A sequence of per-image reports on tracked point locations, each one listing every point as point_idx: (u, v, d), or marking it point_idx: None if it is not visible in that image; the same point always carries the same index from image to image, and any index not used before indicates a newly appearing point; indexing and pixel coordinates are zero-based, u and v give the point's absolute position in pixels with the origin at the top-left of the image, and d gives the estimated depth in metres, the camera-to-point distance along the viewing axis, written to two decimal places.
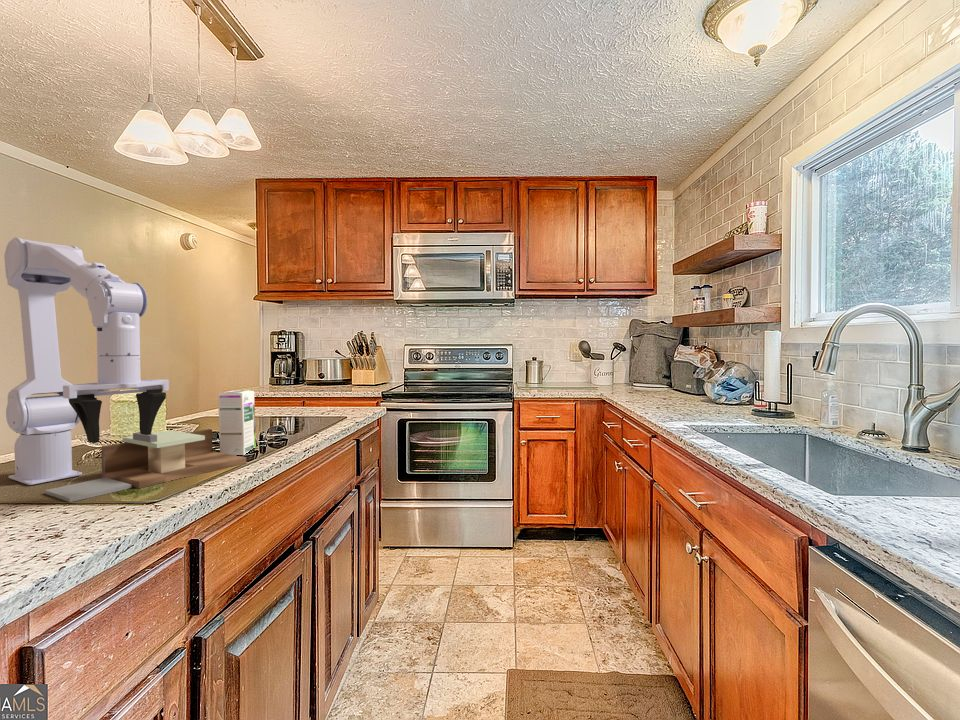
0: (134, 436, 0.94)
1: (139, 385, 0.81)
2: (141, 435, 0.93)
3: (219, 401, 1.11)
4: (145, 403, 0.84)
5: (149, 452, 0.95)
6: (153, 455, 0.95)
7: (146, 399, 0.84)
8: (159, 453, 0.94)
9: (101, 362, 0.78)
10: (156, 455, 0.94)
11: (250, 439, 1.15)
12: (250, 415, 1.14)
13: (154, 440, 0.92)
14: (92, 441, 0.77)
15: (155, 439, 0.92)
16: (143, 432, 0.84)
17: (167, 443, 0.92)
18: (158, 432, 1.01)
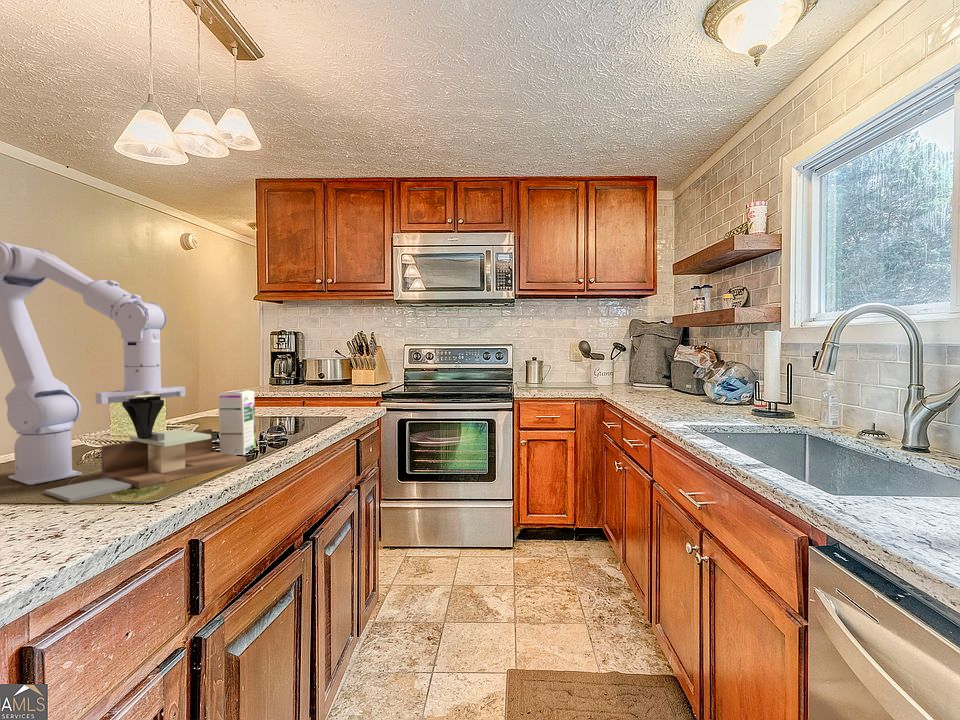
0: None
1: (160, 392, 0.93)
2: None
3: (219, 401, 1.11)
4: None
5: (149, 452, 0.95)
6: (153, 455, 0.95)
7: None
8: (159, 453, 0.94)
9: (128, 372, 0.90)
10: (156, 455, 0.94)
11: (250, 439, 1.15)
12: (250, 415, 1.14)
13: (161, 439, 0.93)
14: (142, 437, 0.92)
15: (162, 438, 0.93)
16: None
17: (174, 442, 0.93)
18: (165, 431, 1.02)
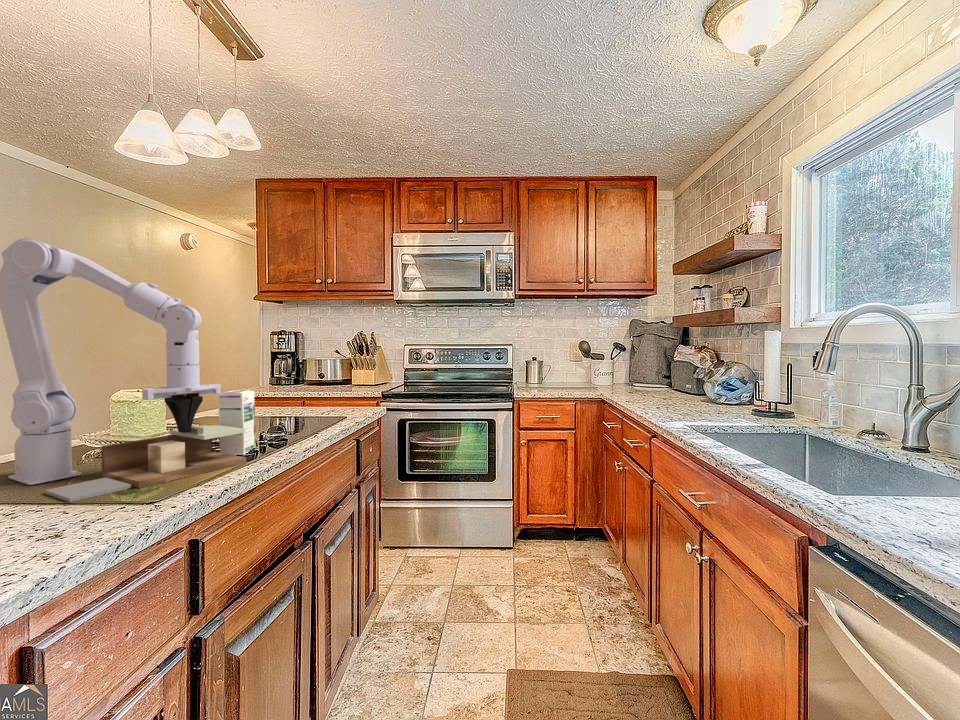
0: None
1: (199, 389, 0.99)
2: None
3: (219, 401, 1.11)
4: None
5: (149, 452, 0.95)
6: (153, 455, 0.95)
7: None
8: (159, 453, 0.94)
9: (170, 370, 0.96)
10: (156, 455, 0.94)
11: (250, 439, 1.15)
12: (250, 415, 1.14)
13: (201, 432, 1.00)
14: (182, 431, 0.99)
15: (201, 431, 1.00)
16: None
17: (213, 435, 0.99)
18: (200, 426, 1.09)
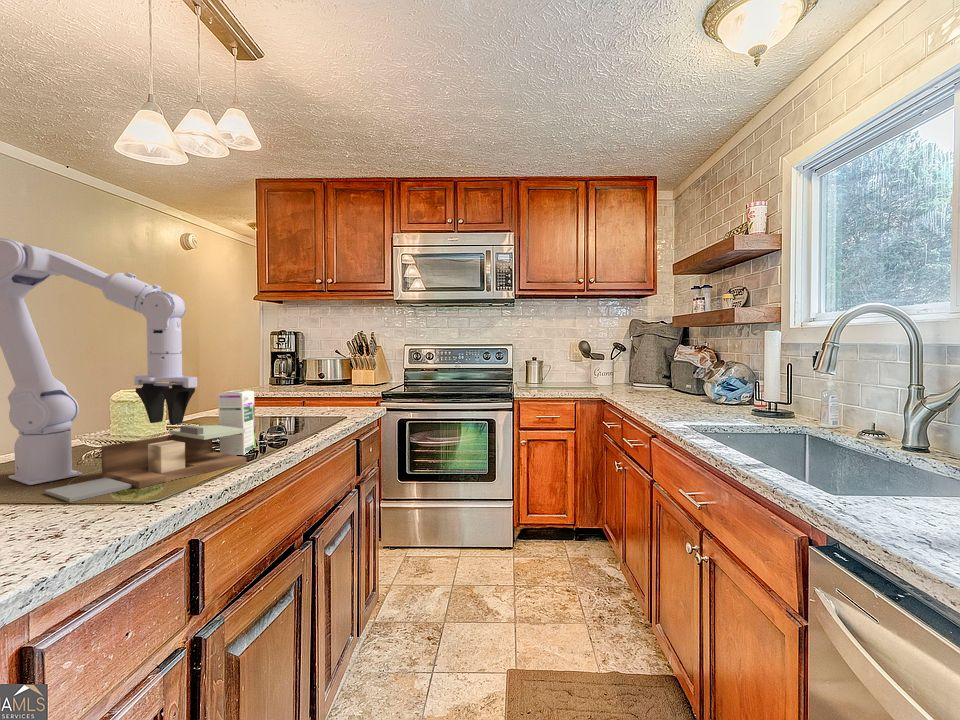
0: (181, 429, 1.01)
1: (158, 380, 0.93)
2: (188, 428, 1.00)
3: (219, 401, 1.11)
4: None
5: (149, 452, 0.95)
6: (153, 455, 0.95)
7: None
8: (159, 453, 0.94)
9: None
10: (156, 455, 0.94)
11: (250, 439, 1.15)
12: (250, 415, 1.14)
13: (201, 432, 1.00)
14: None
15: (201, 431, 1.00)
16: None
17: (213, 435, 0.99)
18: (200, 426, 1.09)
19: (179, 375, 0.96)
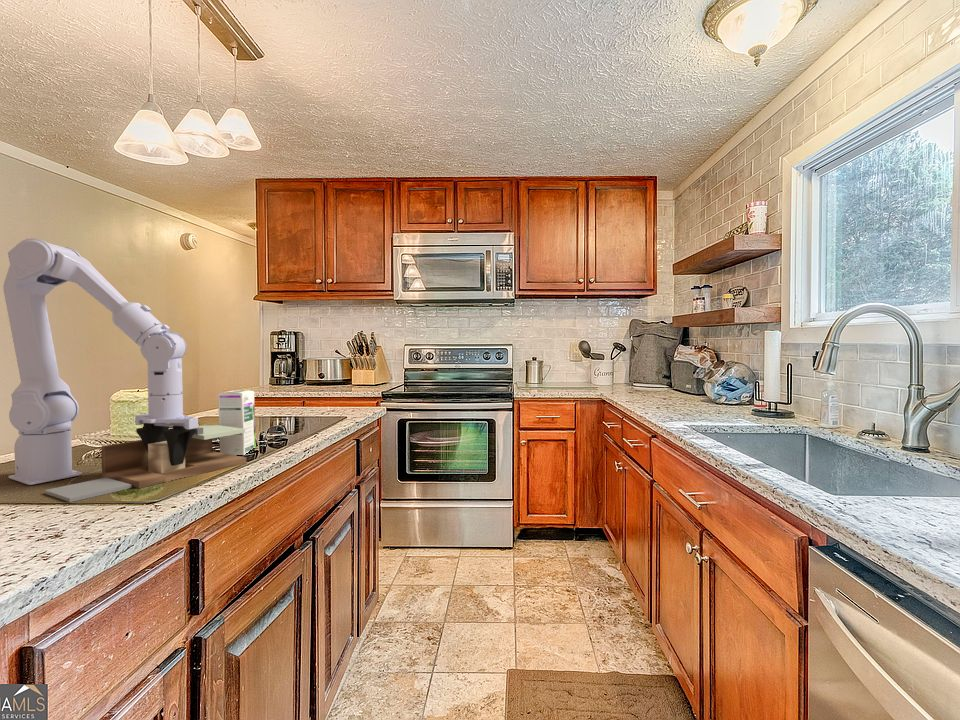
0: None
1: (159, 421, 0.93)
2: None
3: (219, 401, 1.11)
4: None
5: (149, 452, 0.95)
6: (153, 455, 0.95)
7: None
8: (159, 453, 0.94)
9: None
10: (156, 455, 0.94)
11: (250, 439, 1.15)
12: (250, 415, 1.14)
13: (201, 432, 1.00)
14: None
15: (201, 431, 1.00)
16: None
17: (213, 435, 0.99)
18: (200, 426, 1.09)
19: (180, 415, 0.96)
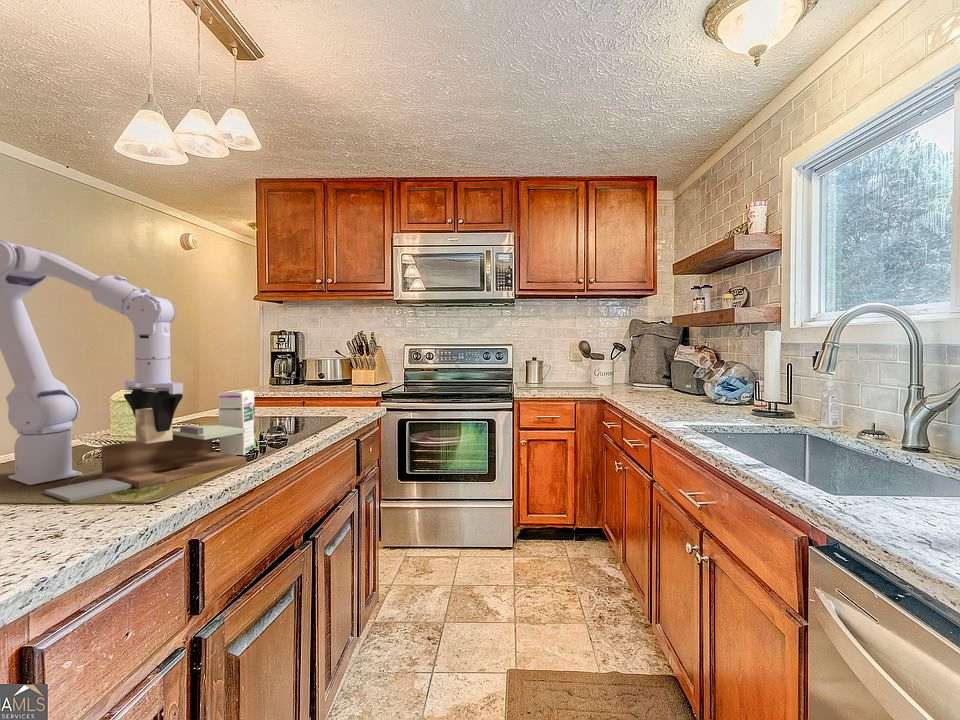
0: (181, 429, 1.01)
1: (144, 385, 0.91)
2: (188, 428, 1.00)
3: (219, 401, 1.11)
4: None
5: (136, 417, 0.94)
6: (140, 421, 0.93)
7: None
8: (145, 418, 0.92)
9: None
10: (142, 420, 0.92)
11: (250, 439, 1.15)
12: (250, 415, 1.14)
13: (201, 432, 1.00)
14: None
15: (201, 431, 1.00)
16: None
17: (213, 435, 0.99)
18: (200, 426, 1.09)
19: (166, 381, 0.94)
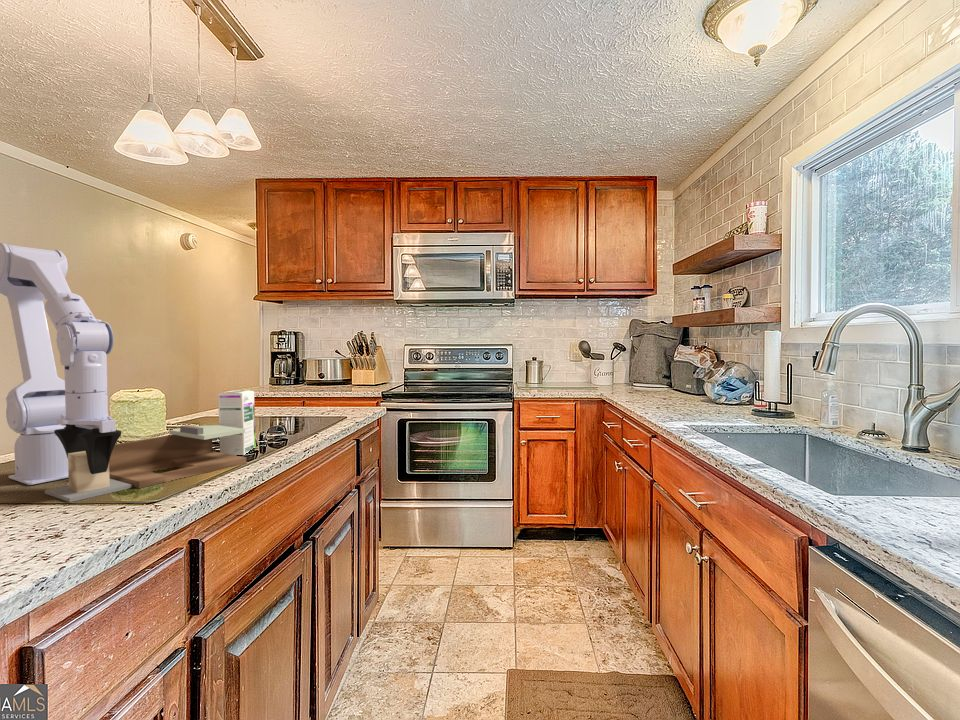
0: (181, 429, 1.01)
1: (73, 422, 0.82)
2: (188, 428, 1.00)
3: (219, 401, 1.11)
4: None
5: (69, 462, 0.84)
6: (71, 466, 0.84)
7: None
8: (75, 464, 0.82)
9: None
10: (73, 466, 0.83)
11: (250, 439, 1.15)
12: (250, 415, 1.14)
13: (201, 432, 1.00)
14: None
15: (201, 431, 1.00)
16: None
17: (213, 435, 0.99)
18: (200, 426, 1.09)
19: (101, 416, 0.84)
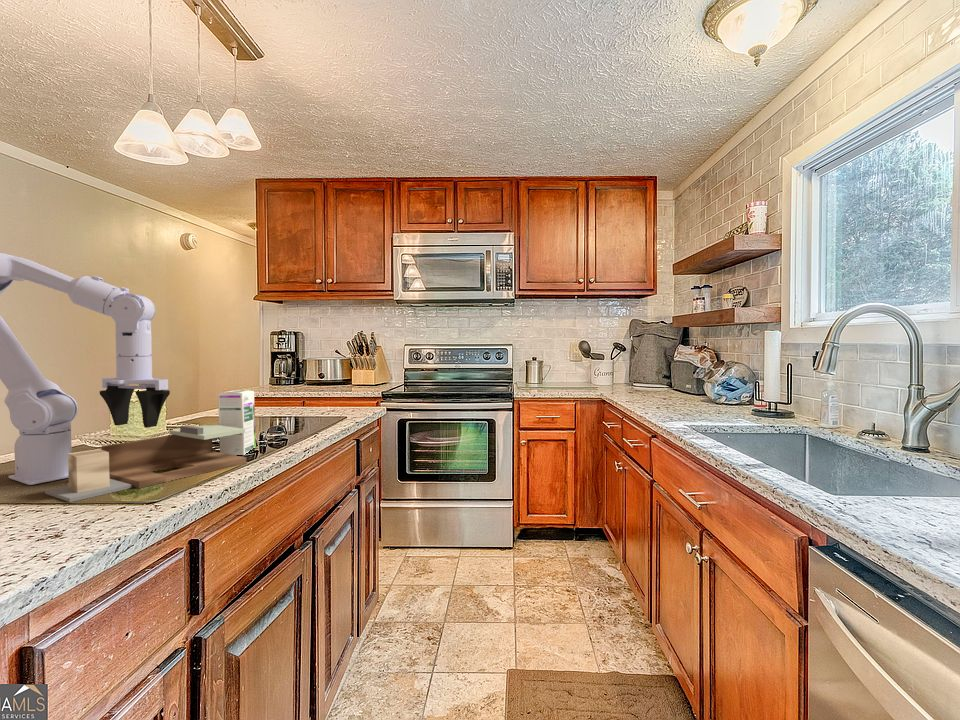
0: (181, 429, 1.01)
1: (128, 382, 0.93)
2: (188, 428, 1.00)
3: (219, 401, 1.11)
4: None
5: (69, 462, 0.84)
6: (71, 466, 0.84)
7: None
8: (75, 464, 0.82)
9: None
10: (73, 466, 0.83)
11: (250, 439, 1.15)
12: (250, 415, 1.14)
13: (201, 432, 1.00)
14: None
15: (201, 431, 1.00)
16: None
17: (213, 435, 0.99)
18: (200, 426, 1.09)
19: (149, 377, 0.96)
